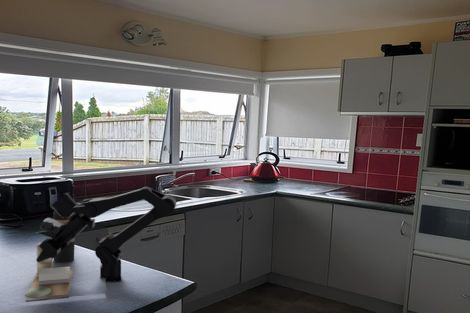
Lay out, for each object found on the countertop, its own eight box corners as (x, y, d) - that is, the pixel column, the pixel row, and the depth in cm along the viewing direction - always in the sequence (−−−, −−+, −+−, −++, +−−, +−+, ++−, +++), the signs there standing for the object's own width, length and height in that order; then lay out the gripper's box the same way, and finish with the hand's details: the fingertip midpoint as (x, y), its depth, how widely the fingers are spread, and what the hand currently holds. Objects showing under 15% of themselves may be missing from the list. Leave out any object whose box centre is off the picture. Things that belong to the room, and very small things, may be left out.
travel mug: (53, 260, 160) (53, 210, 158) (74, 258, 163) (74, 209, 161) (53, 267, 153) (52, 214, 151) (75, 264, 156) (75, 213, 154)
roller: (52, 272, 144) (52, 241, 143) (51, 277, 140) (51, 245, 139) (38, 273, 143) (37, 242, 142) (36, 278, 138) (35, 246, 137)
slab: (70, 277, 140) (70, 266, 139) (68, 284, 134) (68, 272, 134) (41, 280, 137) (41, 268, 136) (38, 287, 131) (38, 275, 131)
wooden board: (73, 272, 147) (73, 268, 147) (68, 298, 127) (68, 293, 126) (34, 275, 144) (34, 271, 143) (23, 302, 123) (23, 297, 122)
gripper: (65, 205, 149) (34, 234, 149) (45, 217, 130) (10, 250, 131) (87, 226, 150) (56, 256, 150) (70, 241, 132) (35, 274, 132)
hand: (40, 258), depth 141 cm, fingers closed on roller, 5 cm apart
